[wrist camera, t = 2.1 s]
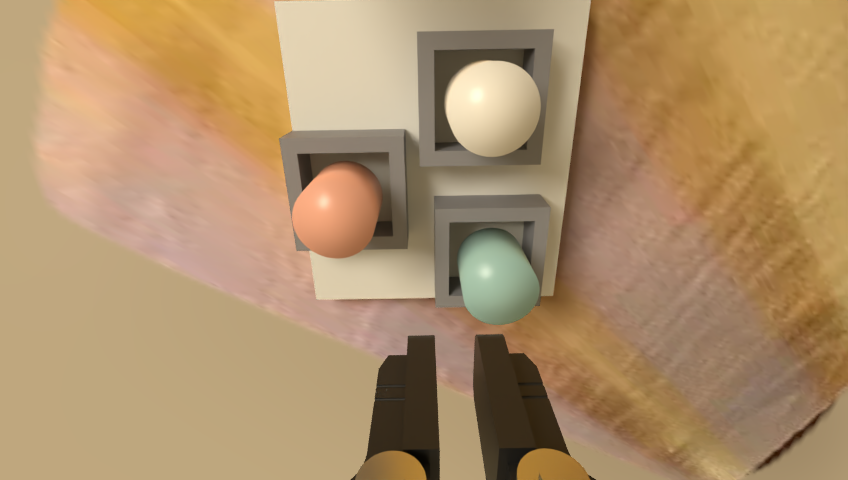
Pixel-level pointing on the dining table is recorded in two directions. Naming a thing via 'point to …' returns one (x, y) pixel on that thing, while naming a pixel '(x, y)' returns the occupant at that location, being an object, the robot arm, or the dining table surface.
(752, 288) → the dining table surface
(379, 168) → the console
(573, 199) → the dining table surface
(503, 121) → the ivory button
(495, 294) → the mint green button
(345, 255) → the coral button
